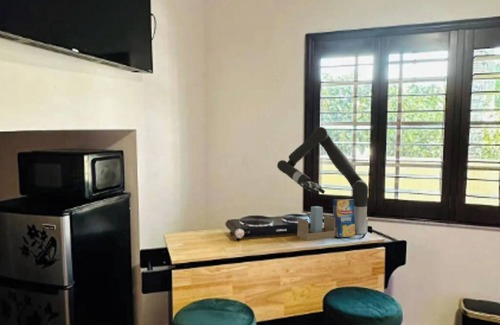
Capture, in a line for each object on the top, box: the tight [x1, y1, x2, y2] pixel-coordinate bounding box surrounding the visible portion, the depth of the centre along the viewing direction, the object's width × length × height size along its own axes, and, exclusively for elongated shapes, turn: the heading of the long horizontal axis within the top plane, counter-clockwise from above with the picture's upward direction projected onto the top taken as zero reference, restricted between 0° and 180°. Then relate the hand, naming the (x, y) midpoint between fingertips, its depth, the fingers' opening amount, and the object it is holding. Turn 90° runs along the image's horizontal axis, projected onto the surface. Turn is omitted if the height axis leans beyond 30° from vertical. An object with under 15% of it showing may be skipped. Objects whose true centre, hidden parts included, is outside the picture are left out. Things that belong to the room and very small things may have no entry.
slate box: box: [309, 205, 324, 233], centre depth 225 cm, size 5×5×18 cm
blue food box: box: [332, 198, 356, 238], centre depth 230 cm, size 7×11×22 cm, turn 100°
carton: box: [296, 214, 336, 242], centre depth 225 cm, size 20×10×12 cm, turn 116°
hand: (319, 192), depth 226 cm, fingers open, 8 cm apart
